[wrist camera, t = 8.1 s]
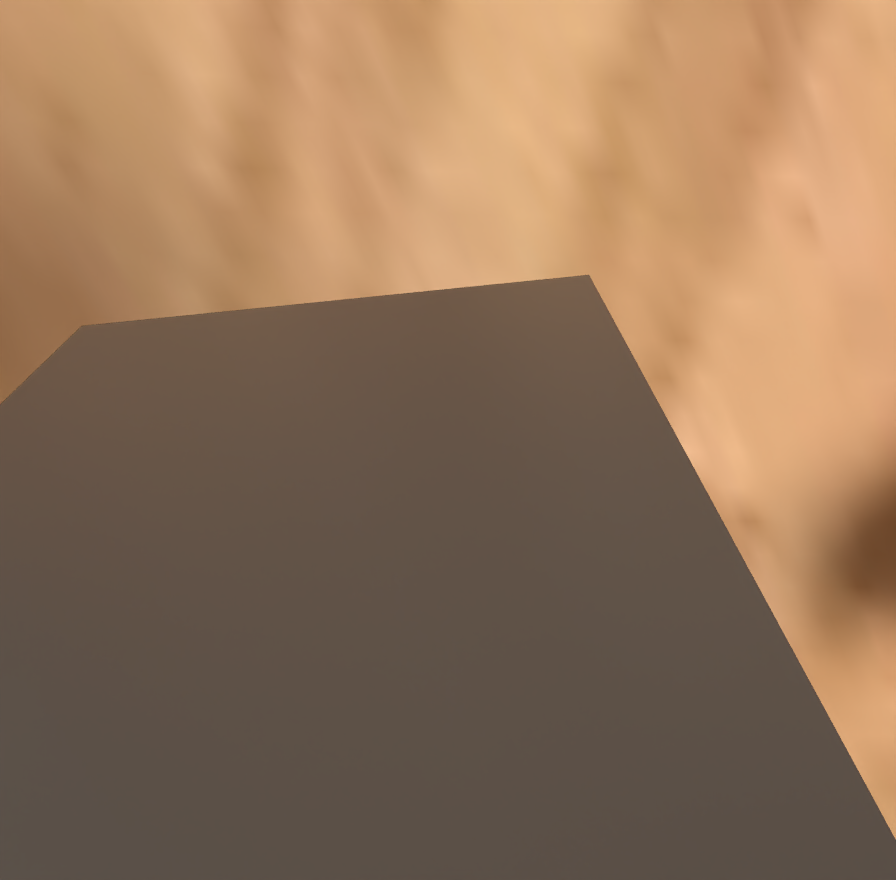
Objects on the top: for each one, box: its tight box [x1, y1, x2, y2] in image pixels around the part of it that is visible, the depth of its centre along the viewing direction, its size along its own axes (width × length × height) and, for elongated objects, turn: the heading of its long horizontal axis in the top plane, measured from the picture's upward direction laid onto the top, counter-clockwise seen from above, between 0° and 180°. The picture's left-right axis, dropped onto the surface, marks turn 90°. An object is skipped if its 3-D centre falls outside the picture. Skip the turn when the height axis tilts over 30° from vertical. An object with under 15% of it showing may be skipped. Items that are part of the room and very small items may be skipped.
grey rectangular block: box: [0, 275, 896, 880], centre depth 10 cm, size 11×7×9 cm, turn 6°
